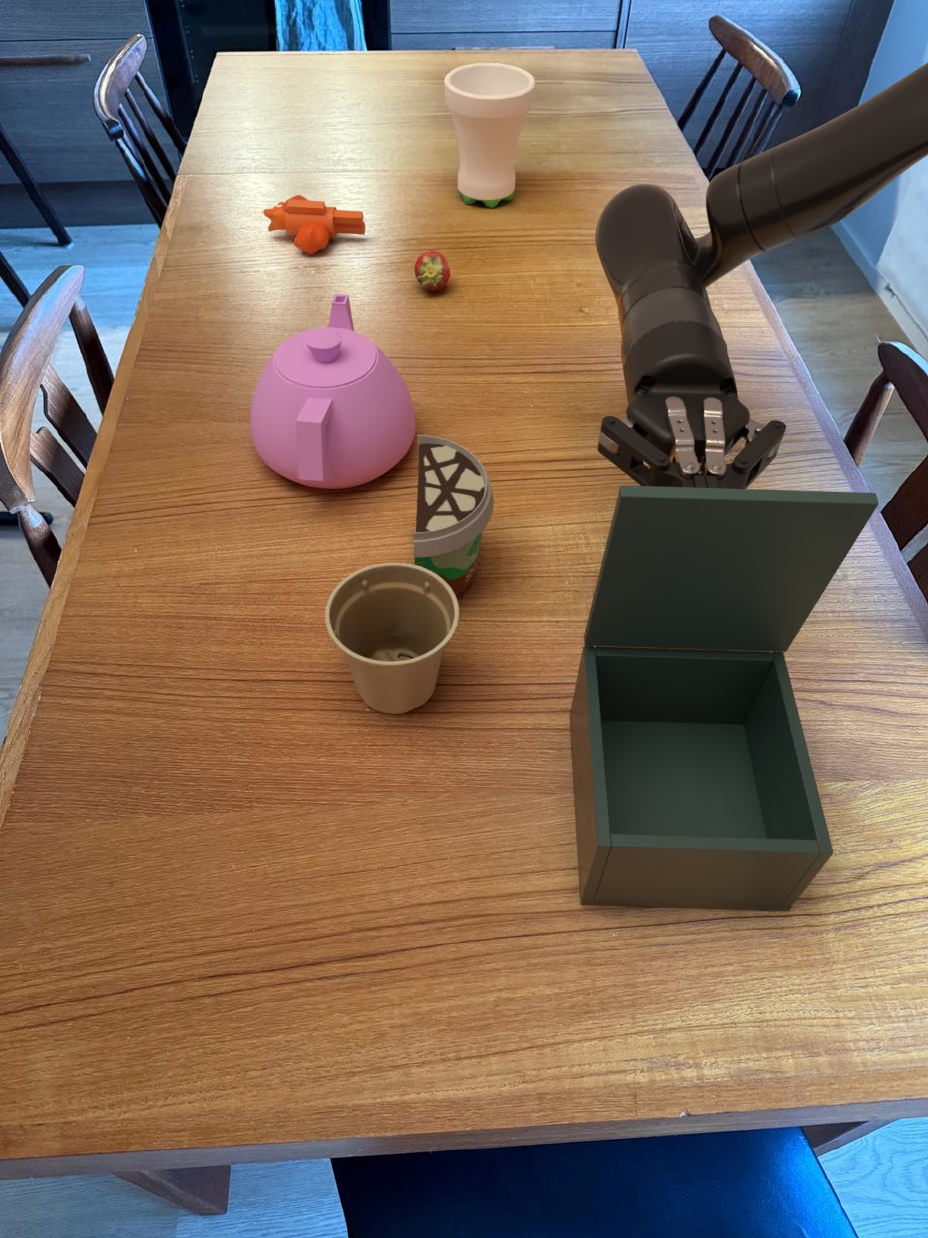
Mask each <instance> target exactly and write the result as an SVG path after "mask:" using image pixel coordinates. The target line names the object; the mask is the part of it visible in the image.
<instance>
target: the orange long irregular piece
mask: <svg viewBox="0 0 928 1238" xmlns="http://www.w3.org/2000/svg"><path fill="white" fill-rule="evenodd" d="M262 214H263V215H264V217H266V218H268V220H270V223H269V224H268V227H267V228H268V229H267V231H268V232H269V233H270V232H274V231H285V232H286V234H287V235H290V236H295V238H294V240H293V245H294V247H296V248H297V249H300V251H304V252H305V253H307V254H309V255H312V254H315V253H316V252H317V251H319V250H324V249H325V248H327V245H328V244H329V241H331V238H337V236H338V234H344V235H345V234H347V235H363V236H365V234H366V221H364V211H361V210H347V209H345V210H344V209H338V208H337V207H336V206H326V203H325V201H324V200H309V199H307V198H306V197H305V196H303V195H301V194H296V195H294V196H292V197H290V198H287V199H286V200H285V202H284V201H279V202H278V203H277V204H276V205H275V206H273V207H272V208H265V209H263V212H262Z"/></svg>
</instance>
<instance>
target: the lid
mask: <svg viewBox="0 0 928 1238" xmlns="http://www.w3.org/2000/svg"><path fill="white" fill-rule="evenodd" d="M878 506H879V500H878V496H877V494H876V492H863V491H862V492H861V491H857V492H856V491H823V490H822V491H821V490H791V489H757V488H756V489H755V488H754V489H753V488H747V489H726V488H692V487H658V486H641V485H620V486H619V489H618V495H617V498H616V501H615V506H614V510H613V515H612V519H611V523H610V527H609V531H608V535H607V539H606V543H605V548H604V552H603V554H602V555H603V556H602V560H601V564H600V568H599V573H598V576H597V581H596V585H595V590H594V593H593V597H592V602H591V606H590V610H589V614H588V618H587V622H586V626H585V631H584V635H583V644H584V645H583V646H605V647H638V648H671V649H704V650H737V651H770V652H783V653H786V652H788V650H789V648H790V647H791V645H792V643H793V642H794V640H795V638H796V637H797V635H798V634H799V632H800V630H801V629H802V627H803V625H804V624H805V623H806V621H807V619H808V618H809V616H810V615H811V613H812V612H813V609H814V608H815V607H816V605H817V603H818V602H819V600H820V599H821V597H822V596H823V594H824V592H825V591H826V590H827V588H828V586H829V584H830V583H831V581H832V579H833V578H834V577H835V576H836V575H835V574H836V573H837V572H838V570H839V568H840V566H841V565H842V564H843V562H844V561H845V558H846V557H847V555H849V552H850V551H851V549H852V547H854V544H855V543H856V541H857V540H858V538H859V536H860V535H861V533H862V531H863V530H864V528H865V527H866V525H867V524H868V522H869V520H870V518H871V517H872V516H873V514H874V513H875V511H876V510H877V508H878Z"/></svg>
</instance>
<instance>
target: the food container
mask: <svg viewBox="0 0 928 1238" xmlns="http://www.w3.org/2000/svg"><path fill="white" fill-rule="evenodd" d="M416 437H417V473H418V474H417V497H416V498H417V499H416V516H415V522H416V523H415V532H413V533H412V534H413V558H414V565H417V566H421V567H423V568H426V569H428V570H430V571H432V572H434V573H436V574H437V575H438V576H440V577H441V578H442V579H443V580H445V582H446V583H447V584H448V585H449V586H450V587H451V588H452V590H453V592H454V593H455V596H456V598H457V600H459V599H461V598H462V597H464V596H465V595H466V593H467V592H468V591H469V590H470V588H471V587H472V586H473V584H474V581H475V578H476V574H477V570H478V569H477V568H478V562H479V556H480V549H481V542H482V534H483V531H484V530H485V529H486V527H487V526H488V524H489V522H490V520H491V519H492V515H493V512H494V507H495V506H494V505H495V499H494V493H493V489H492V484H491V480H490V477H489V476H488V472H487V470H486V469H485V467H484V465H483V464H482V462H481V461H480V459H478V457H477V456H476V455H475V454H474V453H473V452H471V451H470V450H469V449H467V448H466V447H464V446H462V445H461V444H459V443H457V442H455V441H452V440H450V439H447V438H443V437H439V436H435V435H428V434H417V436H416Z"/></svg>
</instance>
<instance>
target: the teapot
mask: <svg viewBox="0 0 928 1238" xmlns="http://www.w3.org/2000/svg"><path fill="white" fill-rule="evenodd" d="M332 298H333V299H332V300H331V308H330V314H329V321H328V324H327V327H316V328H311V329H306V330H303V331H300V332H298V333H295V334H293V335H291V336H289V337H288V338H286V339H285V340H284V341H283V342H282V343H280V344H279V346H278V347H277V348H276V349H275V351H274V352H273V354H272V355H271V357H270V358H269V360H268V362H267V364H266V366H265V367H264V369H263V371H262V373H261V375H260V377H259V379H258V382H257V384H256V387H255V389H254V392H253V396H252V401H251V407H250V413H249V414H250V422H249V423H250V425H249V426H250V430H249V431H250V436H251V442H252V445H253V447H254V449H255V452H256V453H257V455H258V456H259V457H260V459H261V460H262V461H263V463H265V465H267V467H268V468H270V469H271V470H272V471H274V472H275V473H277V474H279V475H280V476H282V477H284V478H286V479H288V480H290V481H292V482H294V483H297V484H300V485H302V486H306V487H309V488H314V489H323V490H324V489H325V490H339V489H347V488H348V489H349V488H354V487H358V486H361V485H364V484H367V483H370V482H372V481H374V480H376V479H378V478H379V477H381V476H383V475H384V474H385V473H387V472H388V471H390V470H391V469H392V468H394V466H395V465H397V464H398V463H399V462H400V461H401V460H402V459H403V458H404V457H405V456H406V454H407V453H408V452H409V449H411V445H412V444H413V442H414V439H415V435H416V430H417V428H416V427H417V420H416V412H415V407H414V404H413V400H412V396H411V394H410V391H409V389H408V387H407V385H406V382H405V380H404V379H403V376H402V375H401V373H400V372H399V370H398V369H397V368H396V367H395V365H394V363H392V361H391V360H390V359H389V357H387V356H386V355H385V353H384V352H383V351H382V350H381V349H380V348H379V347H378V346H377V345H376V344H375V343H374V342H373V341H372V340H371V339H369V338H368V337H367V336H365V335H363V334H361V333H359V332H357V331H355V328H354V327H355V326H354V321H353V315H352V308H351V301H350V295H349V294H344V293H343V294H342V293H334V296H333V297H332Z"/></svg>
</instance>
